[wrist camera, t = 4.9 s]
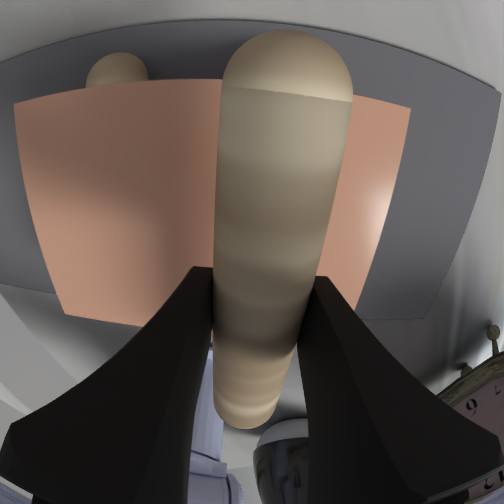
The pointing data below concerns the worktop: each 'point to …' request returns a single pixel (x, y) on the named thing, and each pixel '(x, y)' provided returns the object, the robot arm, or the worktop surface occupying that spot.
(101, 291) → the slab
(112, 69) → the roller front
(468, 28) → the worktop surface
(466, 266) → the worktop surface
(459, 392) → the tabletop clock
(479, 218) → the worktop surface
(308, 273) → the roller
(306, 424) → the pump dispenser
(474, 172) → the mat
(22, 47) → the worktop surface
